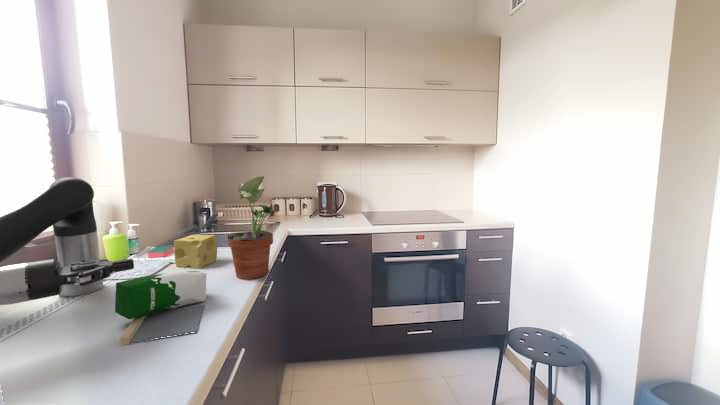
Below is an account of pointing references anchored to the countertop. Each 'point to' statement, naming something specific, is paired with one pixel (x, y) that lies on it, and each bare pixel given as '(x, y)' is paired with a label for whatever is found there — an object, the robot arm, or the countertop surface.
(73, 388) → the countertop surface
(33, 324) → the countertop surface
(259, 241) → the potted plant
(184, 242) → the cheese
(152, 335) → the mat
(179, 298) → the white and green box
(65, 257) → the robot arm
